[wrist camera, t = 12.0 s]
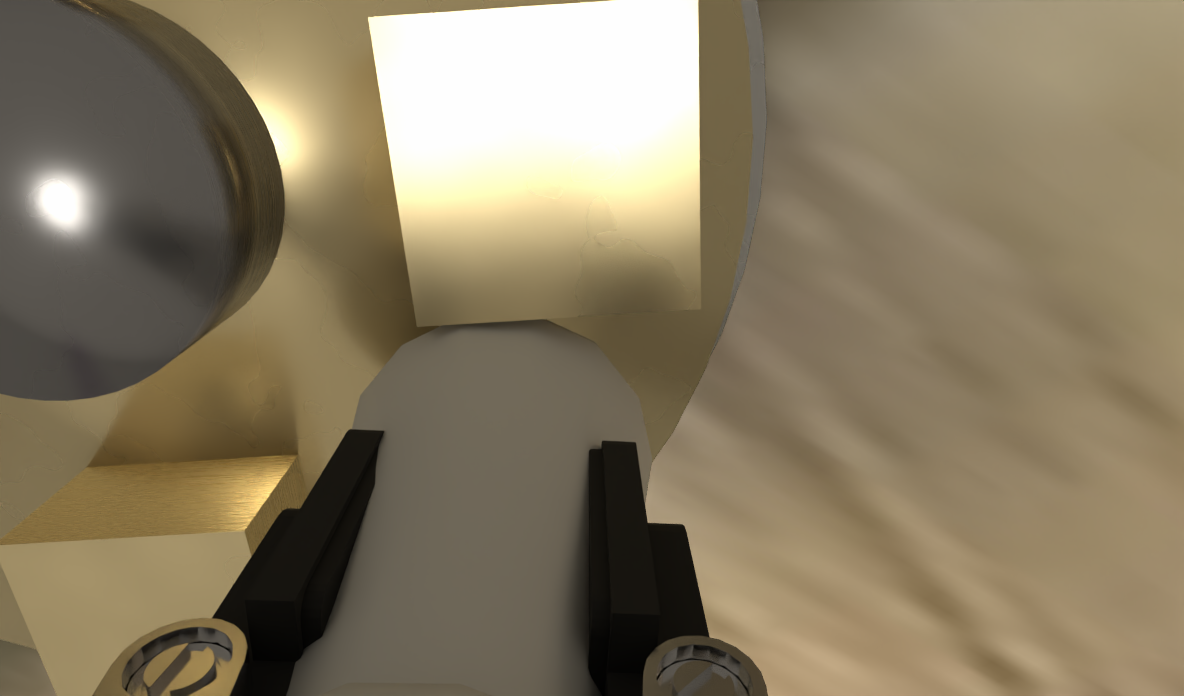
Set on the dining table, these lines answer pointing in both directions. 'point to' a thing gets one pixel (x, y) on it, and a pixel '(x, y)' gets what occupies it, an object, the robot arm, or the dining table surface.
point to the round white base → (759, 135)
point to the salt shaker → (476, 518)
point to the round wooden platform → (318, 254)
